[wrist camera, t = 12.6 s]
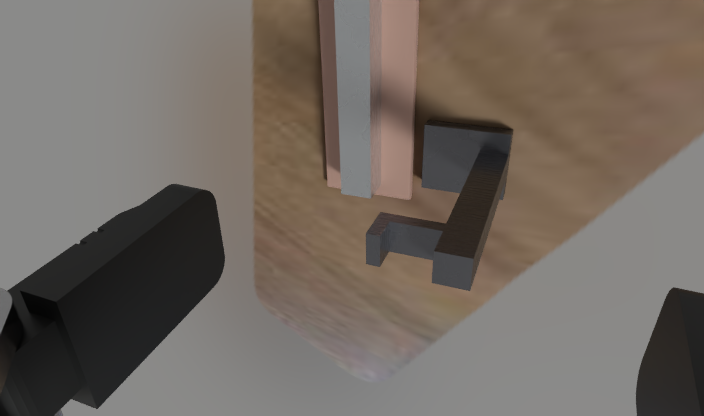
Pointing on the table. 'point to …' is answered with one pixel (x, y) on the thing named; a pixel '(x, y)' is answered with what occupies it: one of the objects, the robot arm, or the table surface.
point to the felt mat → (395, 96)
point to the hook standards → (469, 211)
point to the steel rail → (359, 94)
